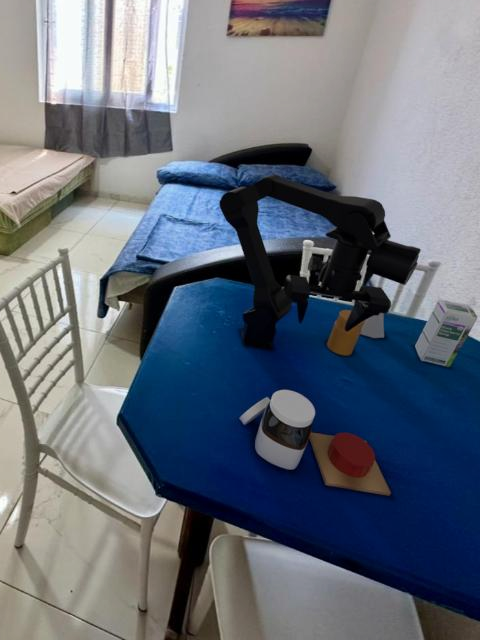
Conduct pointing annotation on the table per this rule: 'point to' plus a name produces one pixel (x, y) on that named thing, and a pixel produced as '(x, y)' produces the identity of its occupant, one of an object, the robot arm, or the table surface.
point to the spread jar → (282, 427)
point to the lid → (351, 455)
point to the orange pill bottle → (344, 335)
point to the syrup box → (445, 332)
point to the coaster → (336, 478)
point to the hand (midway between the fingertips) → (322, 326)
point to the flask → (374, 326)
